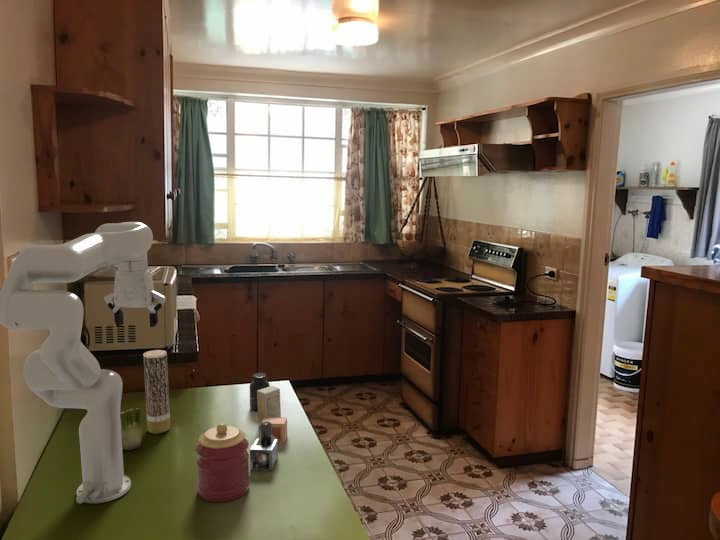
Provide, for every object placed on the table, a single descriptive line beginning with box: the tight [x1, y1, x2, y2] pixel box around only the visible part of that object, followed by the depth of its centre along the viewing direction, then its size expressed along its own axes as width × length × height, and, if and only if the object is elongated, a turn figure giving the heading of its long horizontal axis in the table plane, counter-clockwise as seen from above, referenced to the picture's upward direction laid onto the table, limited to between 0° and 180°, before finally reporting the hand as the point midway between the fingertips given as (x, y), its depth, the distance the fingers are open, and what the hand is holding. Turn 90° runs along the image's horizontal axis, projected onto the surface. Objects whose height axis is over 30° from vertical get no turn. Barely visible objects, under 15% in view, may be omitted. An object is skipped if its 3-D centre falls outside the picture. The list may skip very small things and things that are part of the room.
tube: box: [255, 422, 276, 466], centre depth 162 cm, size 12×4×10 cm, turn 178°
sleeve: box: [249, 438, 279, 471], centre depth 160 cm, size 8×6×6 cm
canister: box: [195, 422, 251, 503], centre depth 145 cm, size 13×13×18 cm
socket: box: [262, 417, 288, 444], centre depth 175 cm, size 4×7×6 cm, turn 88°
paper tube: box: [143, 349, 171, 435], centre depth 180 cm, size 7×7×25 cm
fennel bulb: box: [120, 407, 143, 451], centre depth 168 cm, size 6×5×12 cm
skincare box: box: [257, 385, 282, 428], centre depth 184 cm, size 6×4×12 cm
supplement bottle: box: [249, 372, 271, 413], centre depth 198 cm, size 7×7×12 cm
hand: (136, 325), depth 164 cm, fingers open, 9 cm apart
